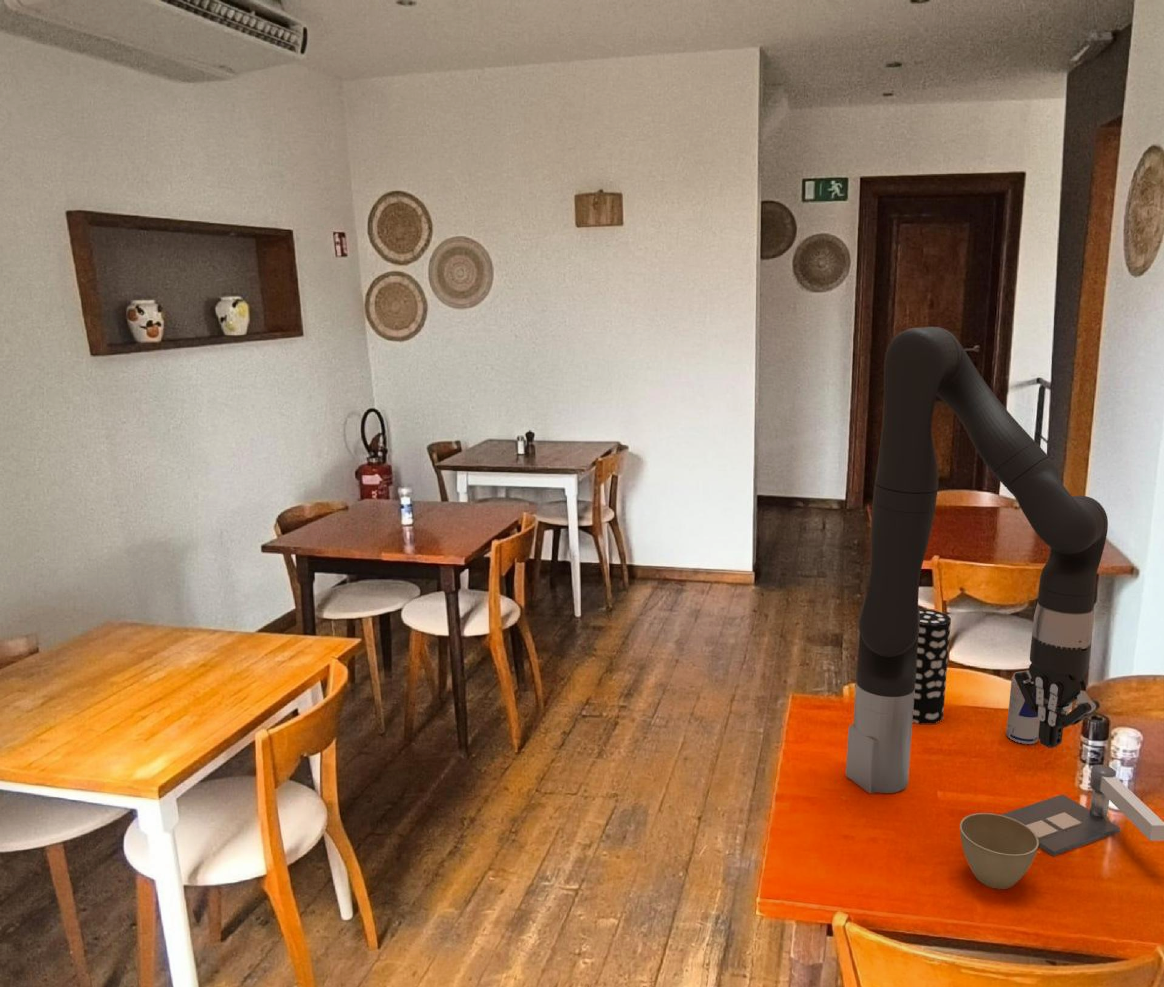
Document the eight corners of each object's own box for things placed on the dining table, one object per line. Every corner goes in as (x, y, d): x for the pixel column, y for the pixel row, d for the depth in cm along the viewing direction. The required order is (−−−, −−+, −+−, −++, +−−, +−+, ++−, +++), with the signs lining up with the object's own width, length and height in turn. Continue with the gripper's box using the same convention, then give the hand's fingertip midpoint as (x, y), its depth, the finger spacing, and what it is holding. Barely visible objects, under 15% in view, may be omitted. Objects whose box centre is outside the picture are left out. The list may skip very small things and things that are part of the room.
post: (1099, 823, 139) (1103, 795, 138) (1085, 815, 141) (1089, 787, 140) (1110, 819, 140) (1113, 791, 139) (1096, 811, 142) (1099, 784, 141)
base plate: (1053, 856, 131) (1053, 849, 131) (997, 819, 140) (998, 813, 140) (1119, 832, 137) (1120, 825, 136) (1062, 798, 146) (1062, 792, 145)
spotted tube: (937, 728, 169) (945, 628, 164) (892, 717, 173) (898, 619, 169) (947, 710, 176) (955, 614, 171) (903, 700, 180) (909, 606, 175)
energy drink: (1042, 746, 162) (1048, 684, 159) (1010, 743, 163) (1016, 682, 160) (1033, 732, 167) (1040, 672, 164) (1002, 729, 168) (1008, 670, 165)
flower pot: (1029, 910, 120) (1034, 863, 119) (949, 885, 126) (953, 840, 124) (1037, 869, 129) (1042, 825, 127) (962, 848, 134) (966, 804, 132)
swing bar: (1085, 782, 141) (1087, 764, 140) (1106, 781, 141) (1108, 764, 140) (1145, 842, 126) (1148, 823, 125) (1168, 842, 126) (1171, 823, 125)
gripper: (1004, 624, 133) (994, 730, 137) (1084, 656, 122) (1070, 772, 126) (1041, 616, 136) (1030, 720, 140) (1122, 647, 124) (1108, 760, 128)
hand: (1049, 745), depth 133 cm, fingers closed
